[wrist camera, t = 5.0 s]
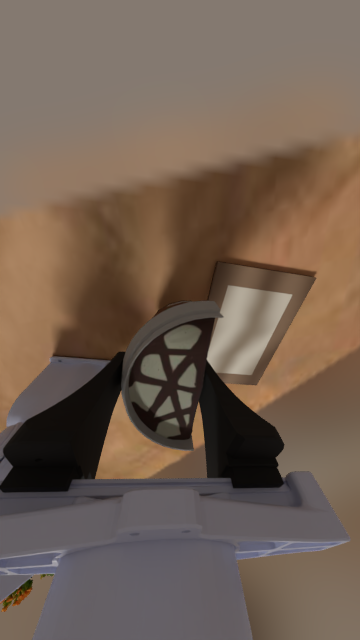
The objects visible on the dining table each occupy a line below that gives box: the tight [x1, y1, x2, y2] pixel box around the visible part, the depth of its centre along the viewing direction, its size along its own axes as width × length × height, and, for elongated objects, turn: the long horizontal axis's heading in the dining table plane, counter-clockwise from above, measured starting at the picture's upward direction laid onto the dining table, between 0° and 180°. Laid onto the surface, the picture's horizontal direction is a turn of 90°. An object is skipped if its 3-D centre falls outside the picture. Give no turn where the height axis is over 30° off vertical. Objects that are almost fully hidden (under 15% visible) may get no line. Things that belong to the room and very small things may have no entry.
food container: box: [121, 301, 224, 451], centre depth 15 cm, size 12×6×10 cm, turn 171°
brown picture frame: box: [207, 261, 316, 385], centre depth 24 cm, size 13×20×1 cm, turn 171°
